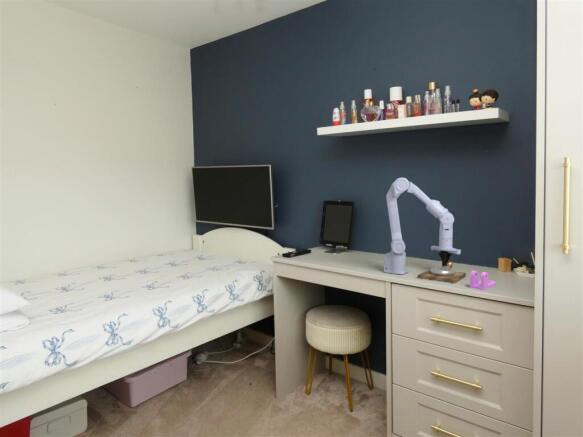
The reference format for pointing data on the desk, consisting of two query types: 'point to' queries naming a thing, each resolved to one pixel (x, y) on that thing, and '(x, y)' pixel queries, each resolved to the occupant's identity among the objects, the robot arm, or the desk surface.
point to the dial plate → (442, 277)
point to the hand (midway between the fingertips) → (445, 267)
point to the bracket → (483, 283)
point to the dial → (443, 270)
